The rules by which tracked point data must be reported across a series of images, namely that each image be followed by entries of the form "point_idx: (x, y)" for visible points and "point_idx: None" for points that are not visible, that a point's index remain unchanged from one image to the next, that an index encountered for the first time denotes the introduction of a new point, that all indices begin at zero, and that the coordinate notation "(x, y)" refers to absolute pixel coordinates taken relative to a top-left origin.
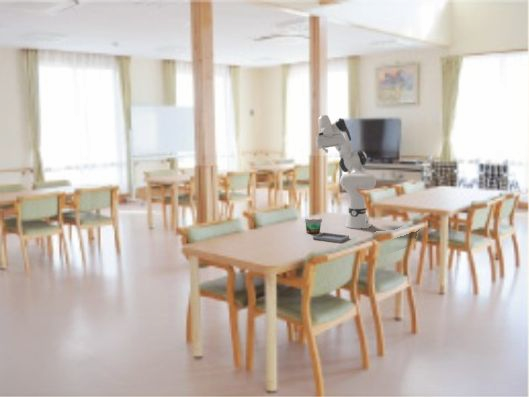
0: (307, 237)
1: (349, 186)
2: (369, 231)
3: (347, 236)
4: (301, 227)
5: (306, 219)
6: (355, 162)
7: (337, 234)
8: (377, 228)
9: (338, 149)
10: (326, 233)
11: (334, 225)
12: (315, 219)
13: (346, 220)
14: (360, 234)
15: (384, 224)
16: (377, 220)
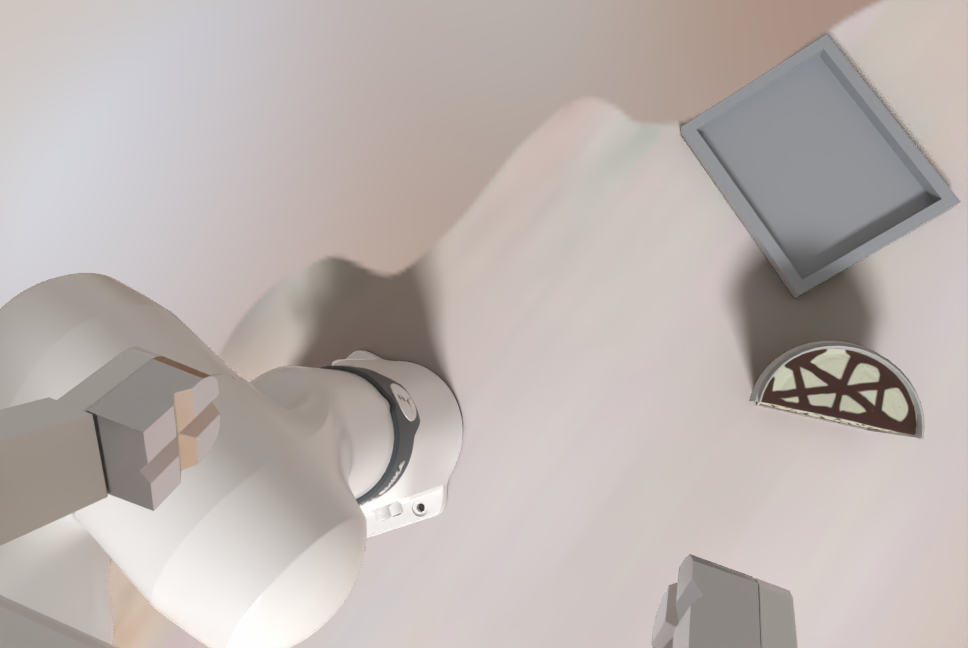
0: (955, 284)
1: (325, 441)
2: (415, 271)
3: (708, 109)
4: None
5: (921, 418)
6: None
7: (736, 190)
8: (309, 328)
9: (179, 463)
10: (788, 260)
11: (497, 561)
12: (819, 403)
13: (428, 492)
14: (527, 216)
15: None
16: None
